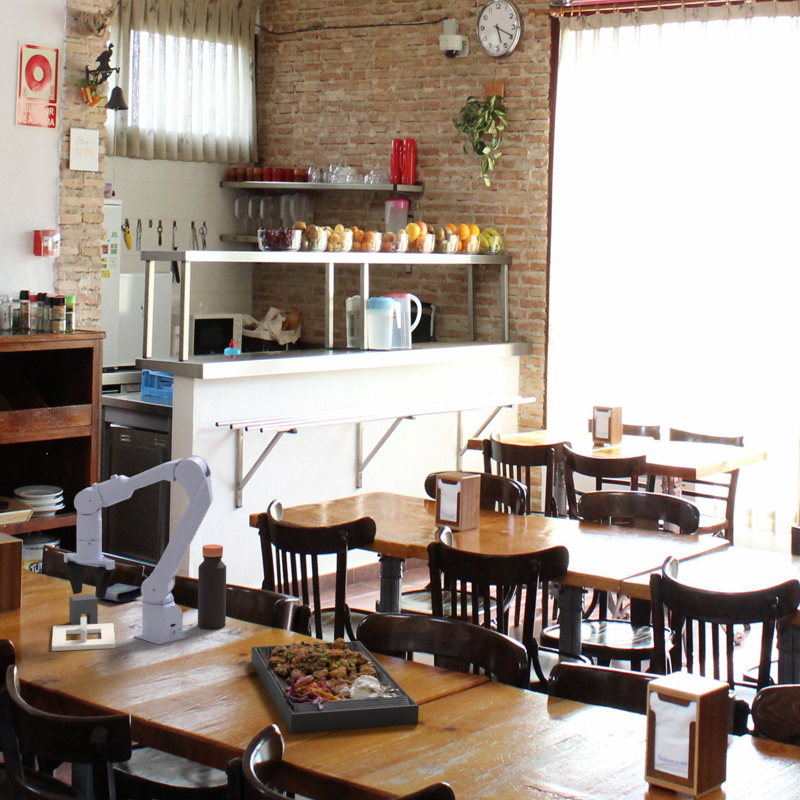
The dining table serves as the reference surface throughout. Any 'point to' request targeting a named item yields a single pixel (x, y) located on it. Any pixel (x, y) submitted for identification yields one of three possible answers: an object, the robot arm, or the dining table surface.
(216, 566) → the bottle
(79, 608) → the notched grey block
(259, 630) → the dining table surface
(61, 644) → the cream frame with handle
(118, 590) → the blue flat box
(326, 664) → the food platter
